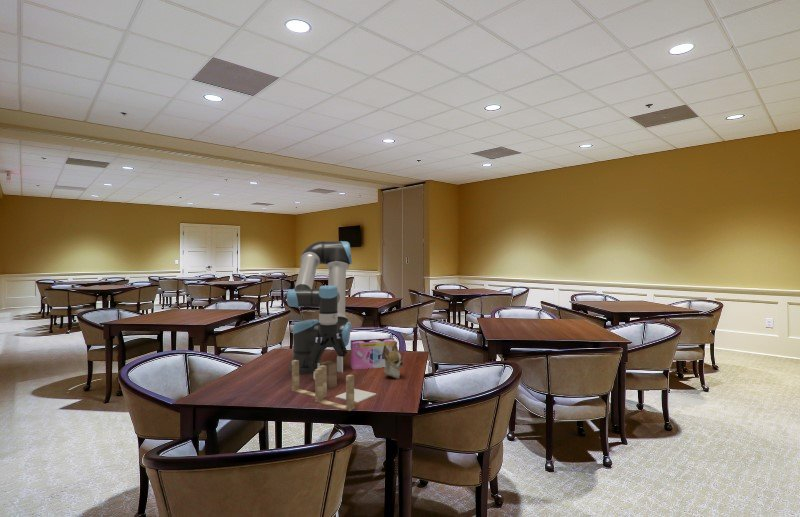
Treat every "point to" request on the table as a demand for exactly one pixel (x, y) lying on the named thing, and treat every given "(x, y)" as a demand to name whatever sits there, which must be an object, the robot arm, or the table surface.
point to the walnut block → (331, 373)
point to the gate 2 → (319, 399)
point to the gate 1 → (296, 379)
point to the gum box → (369, 352)
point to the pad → (357, 395)
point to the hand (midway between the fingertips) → (328, 375)
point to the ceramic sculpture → (392, 361)
